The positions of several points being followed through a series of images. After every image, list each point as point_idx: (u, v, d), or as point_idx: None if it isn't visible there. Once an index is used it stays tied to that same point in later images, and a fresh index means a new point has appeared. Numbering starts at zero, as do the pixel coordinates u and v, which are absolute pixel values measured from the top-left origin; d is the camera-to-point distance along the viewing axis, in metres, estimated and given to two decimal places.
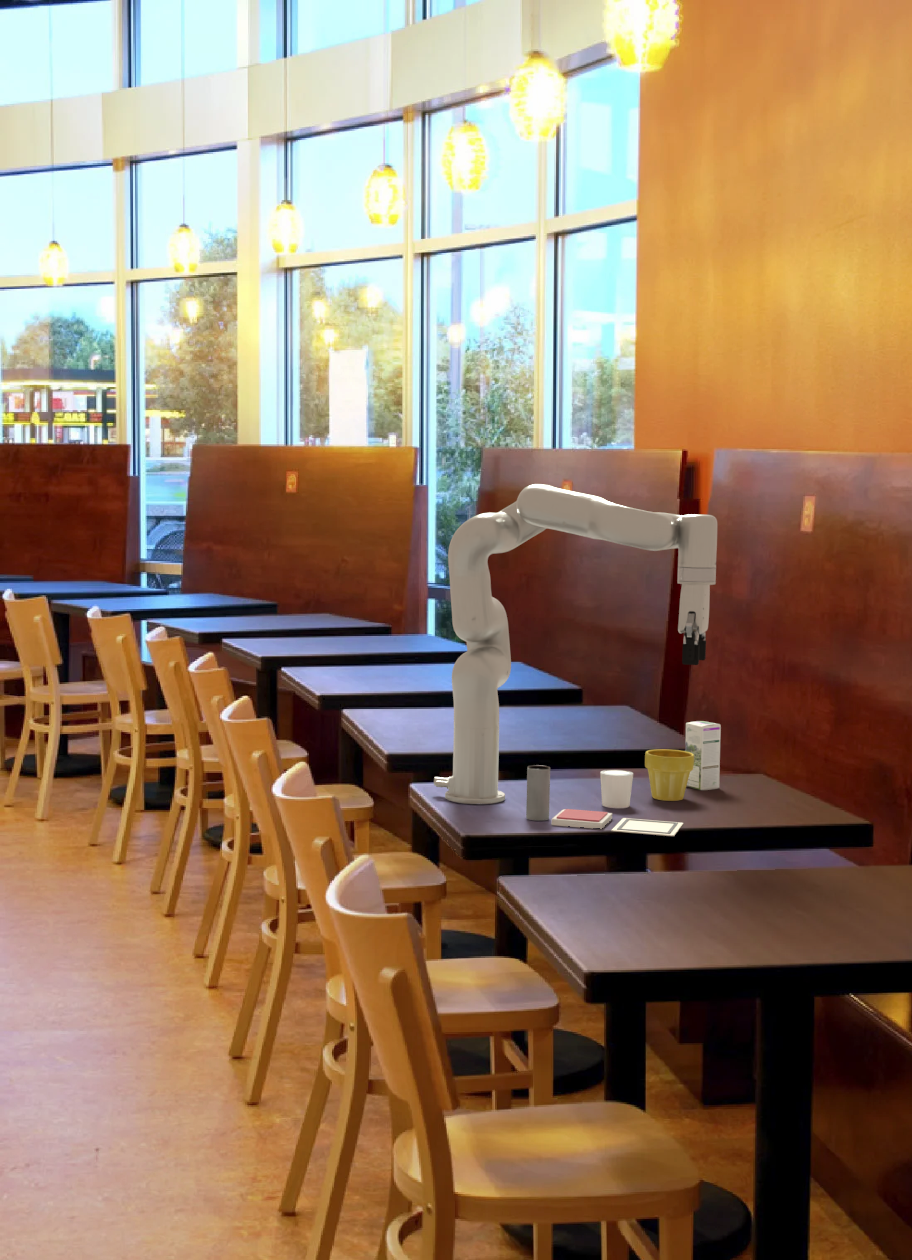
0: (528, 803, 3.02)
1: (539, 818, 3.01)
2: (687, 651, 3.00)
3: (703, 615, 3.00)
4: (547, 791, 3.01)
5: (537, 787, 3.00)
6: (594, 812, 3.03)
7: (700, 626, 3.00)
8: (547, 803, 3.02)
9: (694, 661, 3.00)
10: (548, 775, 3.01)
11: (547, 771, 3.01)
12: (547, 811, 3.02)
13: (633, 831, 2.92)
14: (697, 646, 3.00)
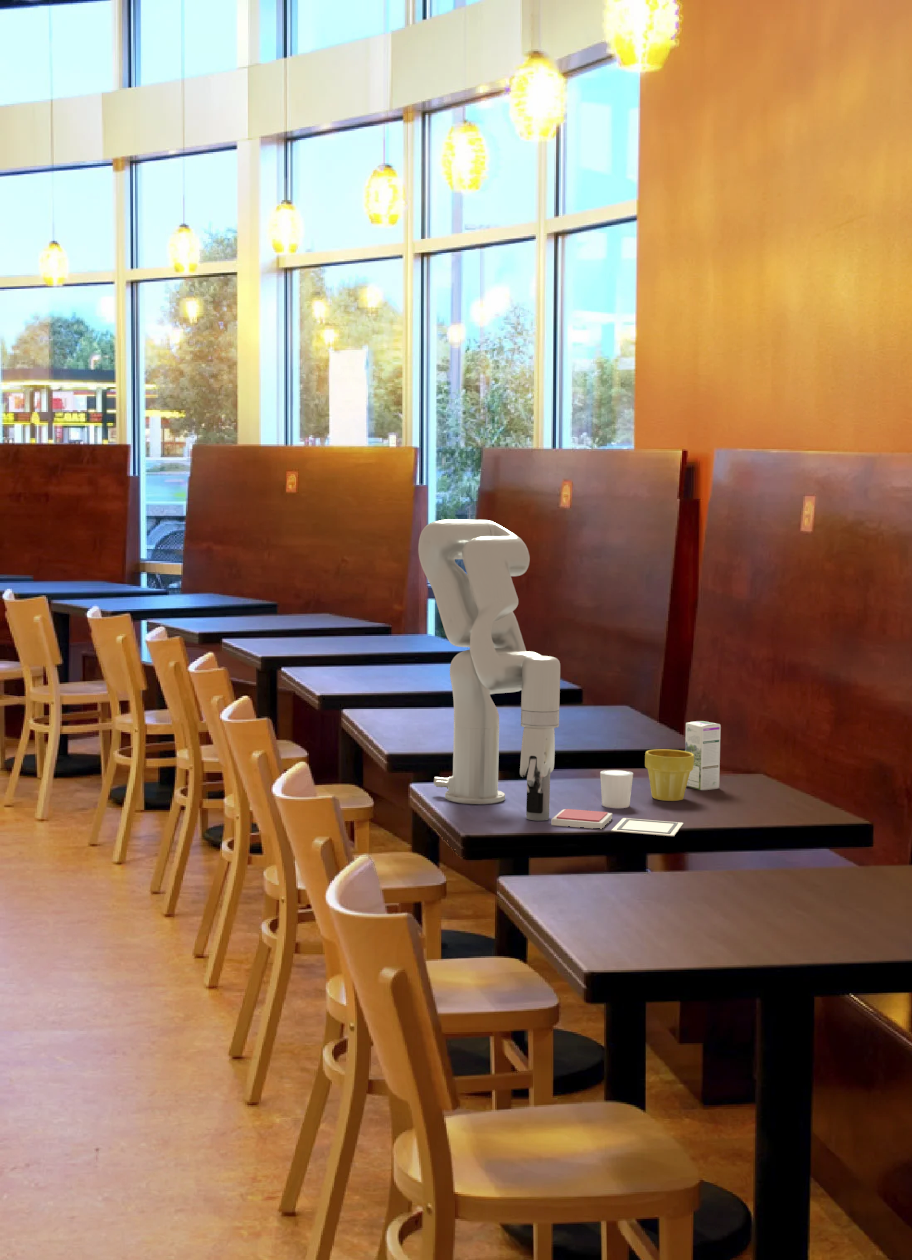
0: None
1: (539, 818, 3.01)
2: (531, 800, 2.99)
3: (544, 759, 2.98)
4: (547, 791, 3.01)
5: None
6: (594, 812, 3.03)
7: (541, 771, 2.97)
8: (547, 803, 3.02)
9: (538, 809, 3.00)
10: (548, 775, 3.01)
11: None
12: (547, 811, 3.02)
13: (633, 831, 2.92)
14: (541, 795, 3.00)
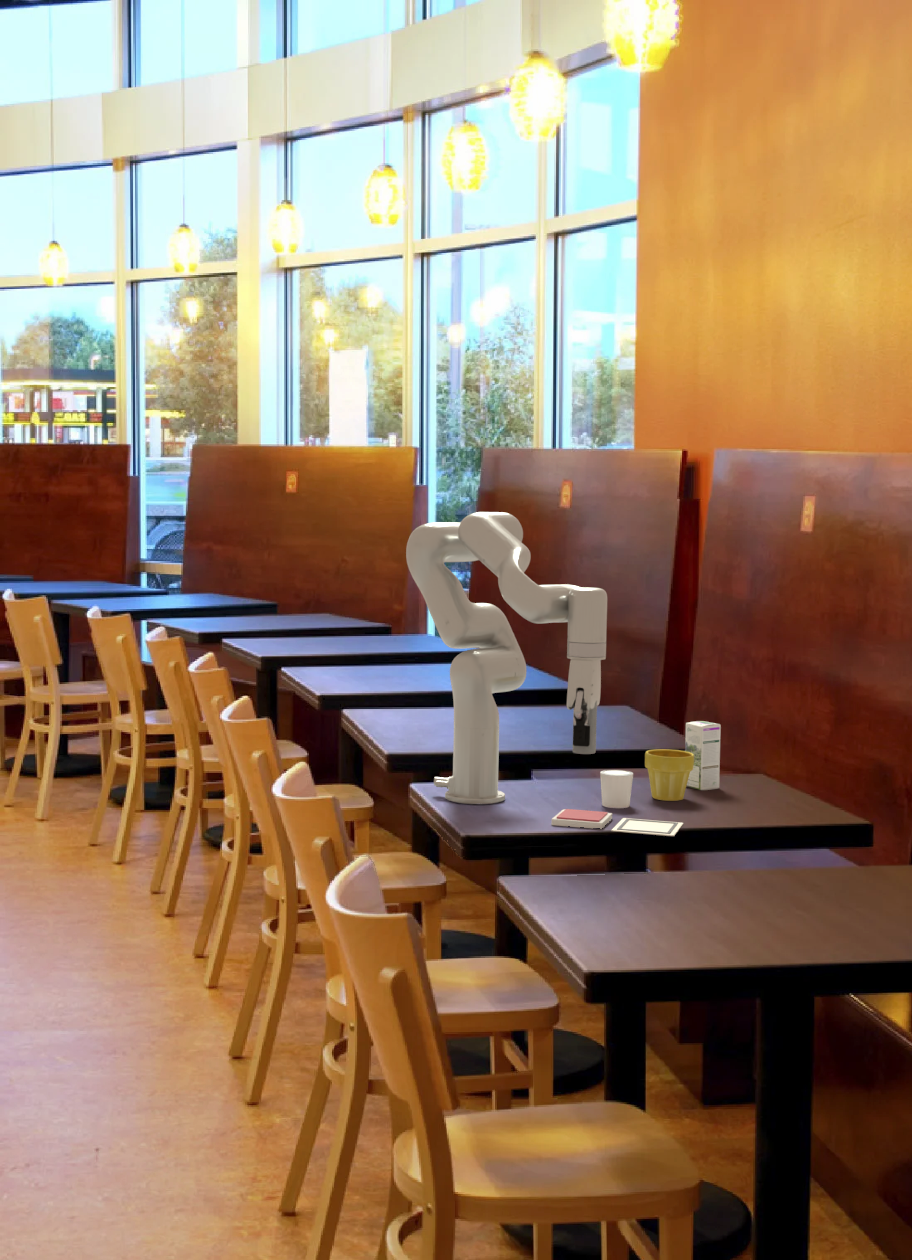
0: None
1: (586, 751, 2.97)
2: (577, 732, 2.96)
3: (592, 691, 2.94)
4: (594, 724, 2.97)
5: None
6: (594, 812, 3.03)
7: (588, 703, 2.93)
8: (594, 736, 2.98)
9: (585, 742, 2.96)
10: (595, 708, 2.97)
11: None
12: (594, 744, 2.98)
13: (633, 831, 2.92)
14: (588, 727, 2.96)
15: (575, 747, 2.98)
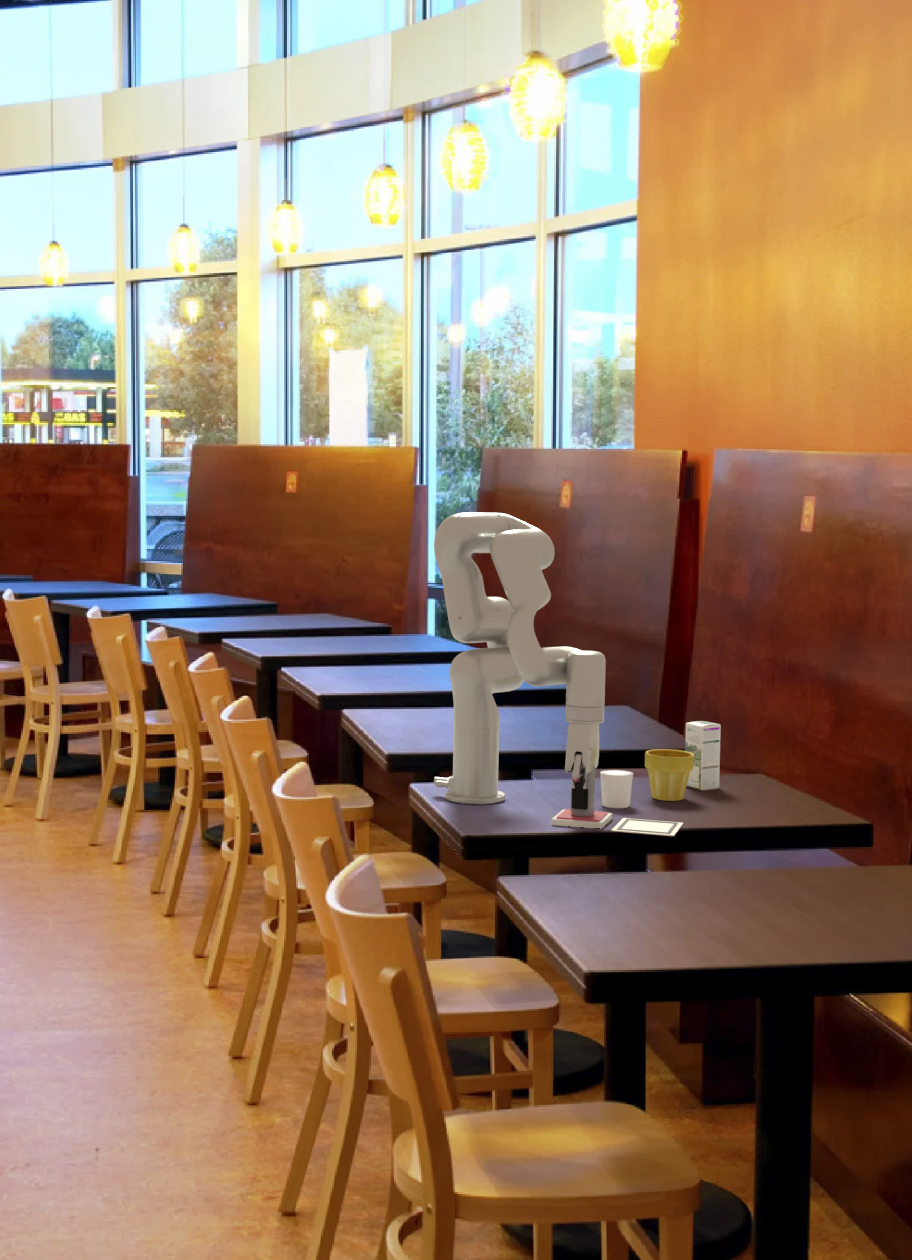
0: None
1: (584, 814, 2.98)
2: (576, 796, 2.97)
3: (590, 755, 2.95)
4: (592, 786, 2.98)
5: None
6: (594, 812, 3.03)
7: (587, 767, 2.94)
8: (592, 799, 2.99)
9: (583, 806, 2.97)
10: (593, 771, 2.98)
11: None
12: (592, 807, 2.99)
13: (633, 831, 2.92)
14: (586, 791, 2.97)
15: (573, 809, 2.99)
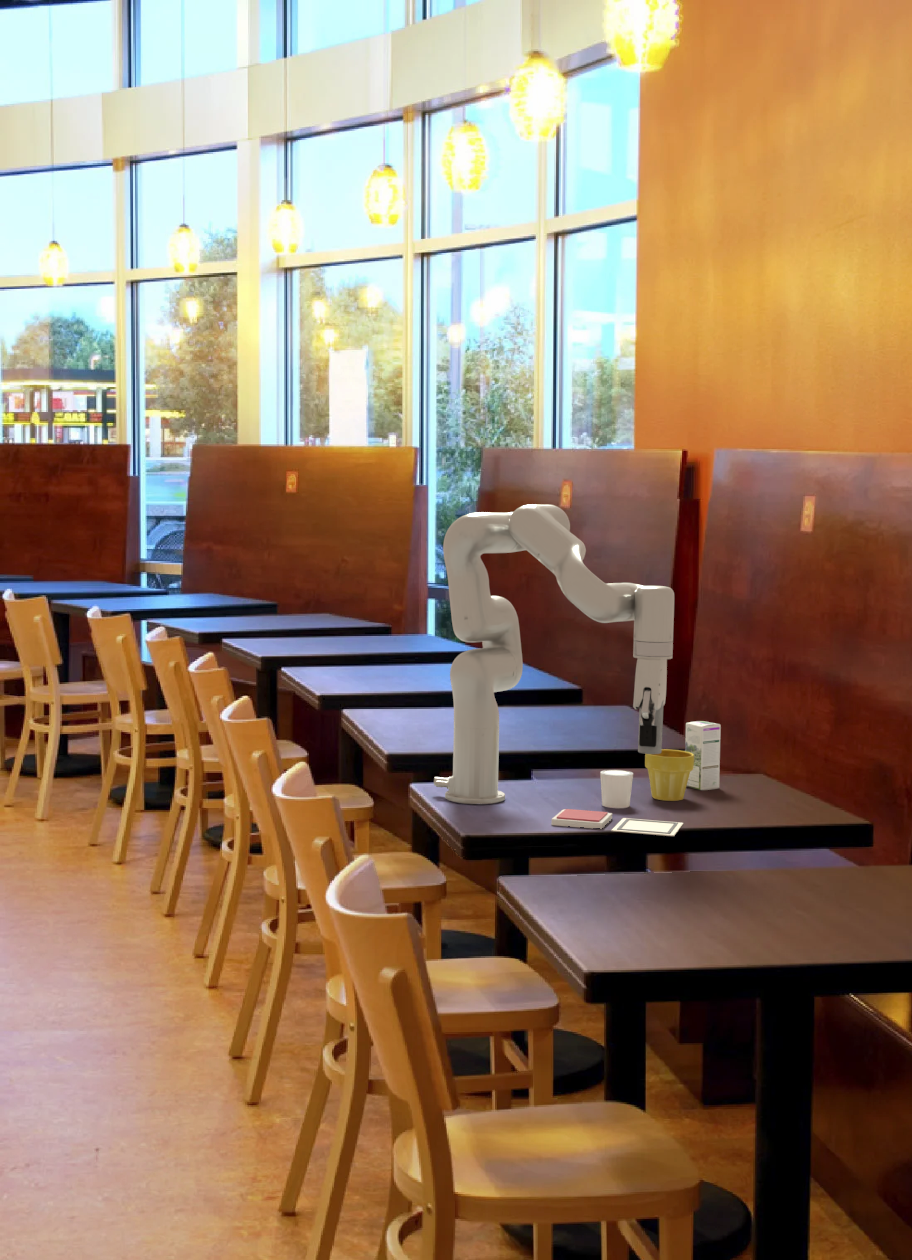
0: None
1: (652, 751, 2.93)
2: (644, 733, 2.92)
3: (659, 691, 2.90)
4: (660, 723, 2.94)
5: None
6: (594, 812, 3.03)
7: (656, 703, 2.90)
8: (660, 736, 2.94)
9: (651, 743, 2.92)
10: (661, 707, 2.94)
11: None
12: (660, 744, 2.94)
13: (633, 831, 2.92)
14: (654, 728, 2.92)
15: (641, 747, 2.94)
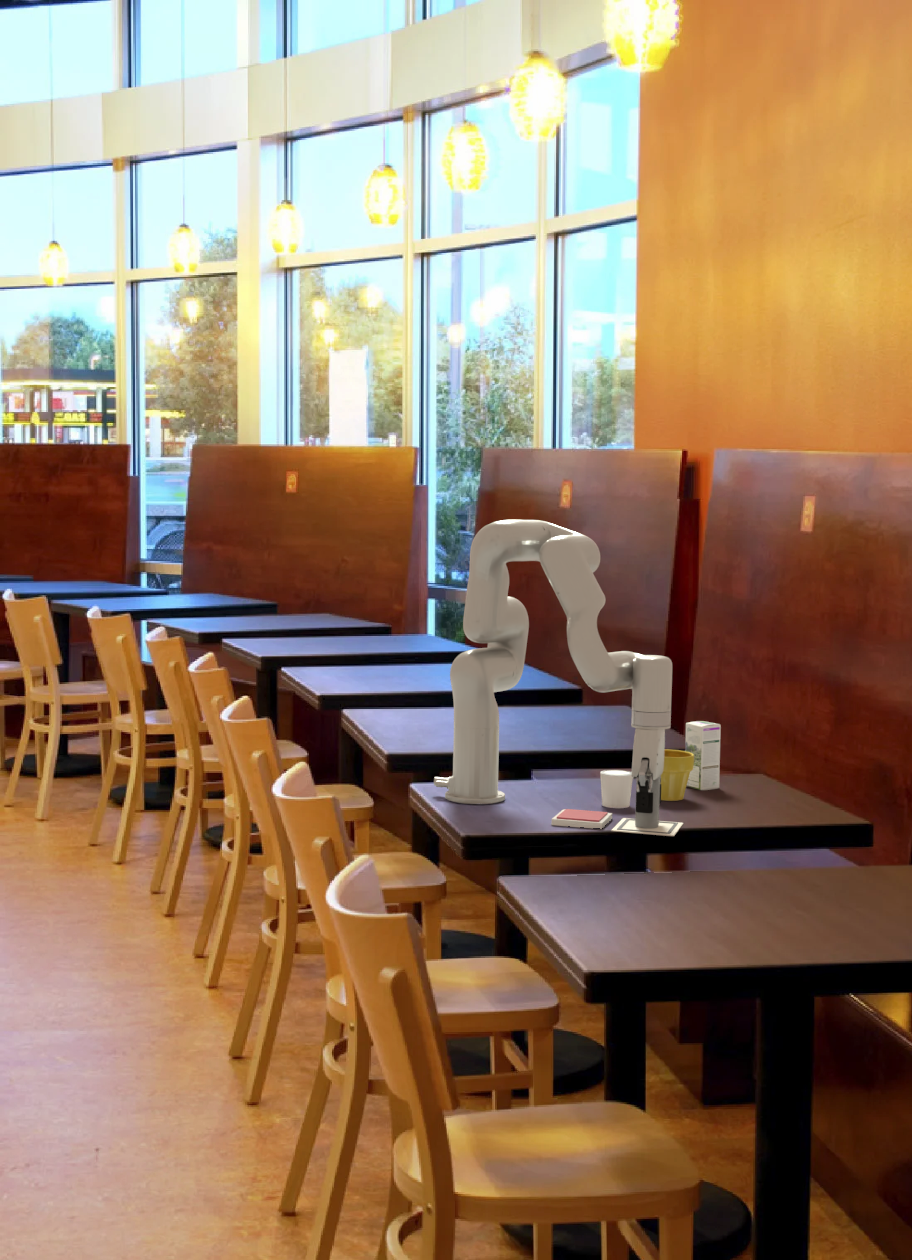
0: None
1: (649, 825, 2.95)
2: (641, 799, 2.91)
3: (657, 761, 2.91)
4: (657, 798, 2.95)
5: None
6: (594, 812, 3.03)
7: (654, 773, 2.91)
8: (657, 810, 2.95)
9: (648, 809, 2.92)
10: (658, 782, 2.95)
11: (657, 778, 2.94)
12: (657, 819, 2.96)
13: (633, 831, 2.92)
14: (651, 794, 2.91)
15: (638, 821, 2.95)
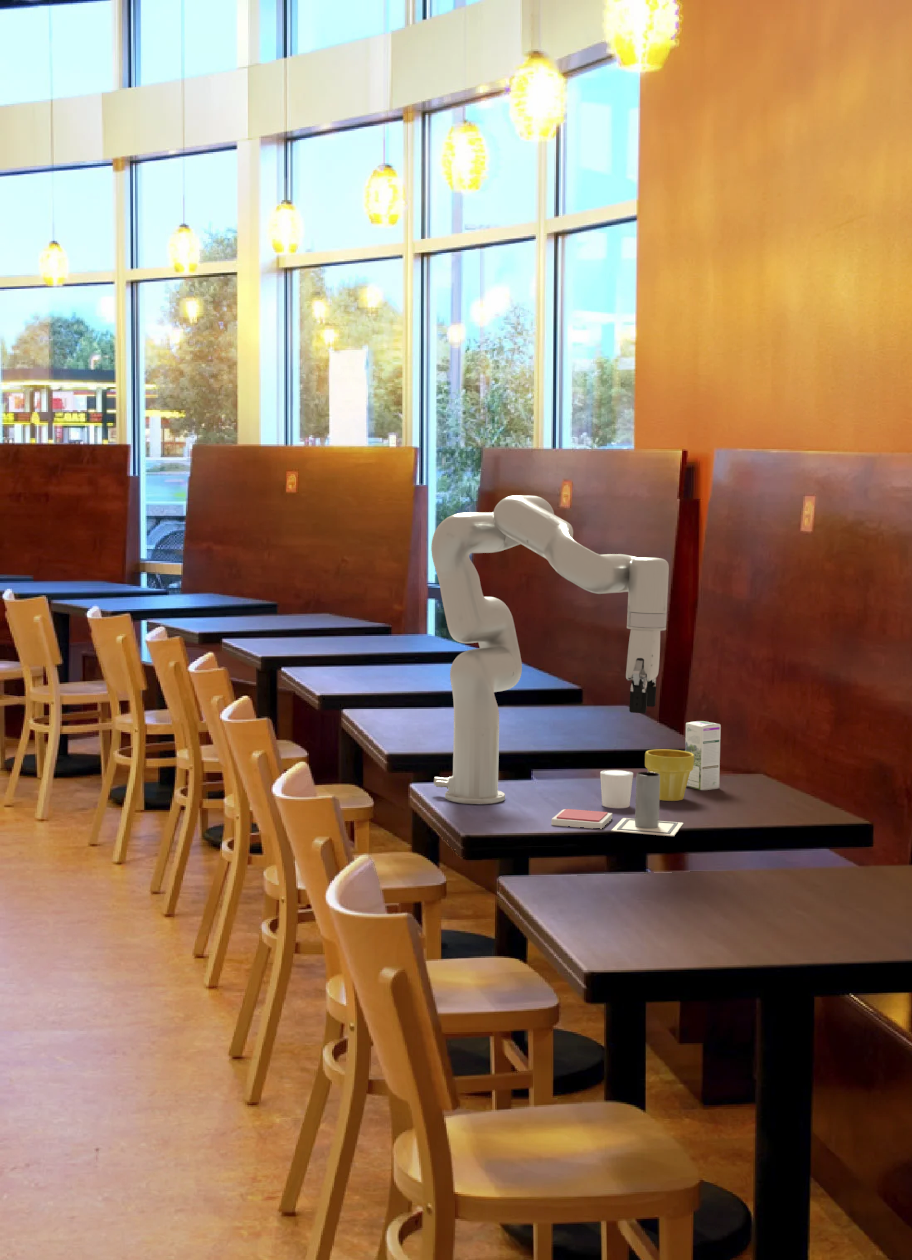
0: (637, 810, 2.96)
1: (649, 825, 2.95)
2: (634, 699, 2.91)
3: (652, 662, 2.91)
4: (657, 798, 2.95)
5: (647, 794, 2.94)
6: (594, 812, 3.03)
7: (648, 673, 2.91)
8: (657, 810, 2.95)
9: (641, 709, 2.92)
10: (658, 782, 2.95)
11: (657, 778, 2.94)
12: (657, 818, 2.96)
13: (633, 831, 2.92)
14: (645, 694, 2.91)
15: (638, 821, 2.95)
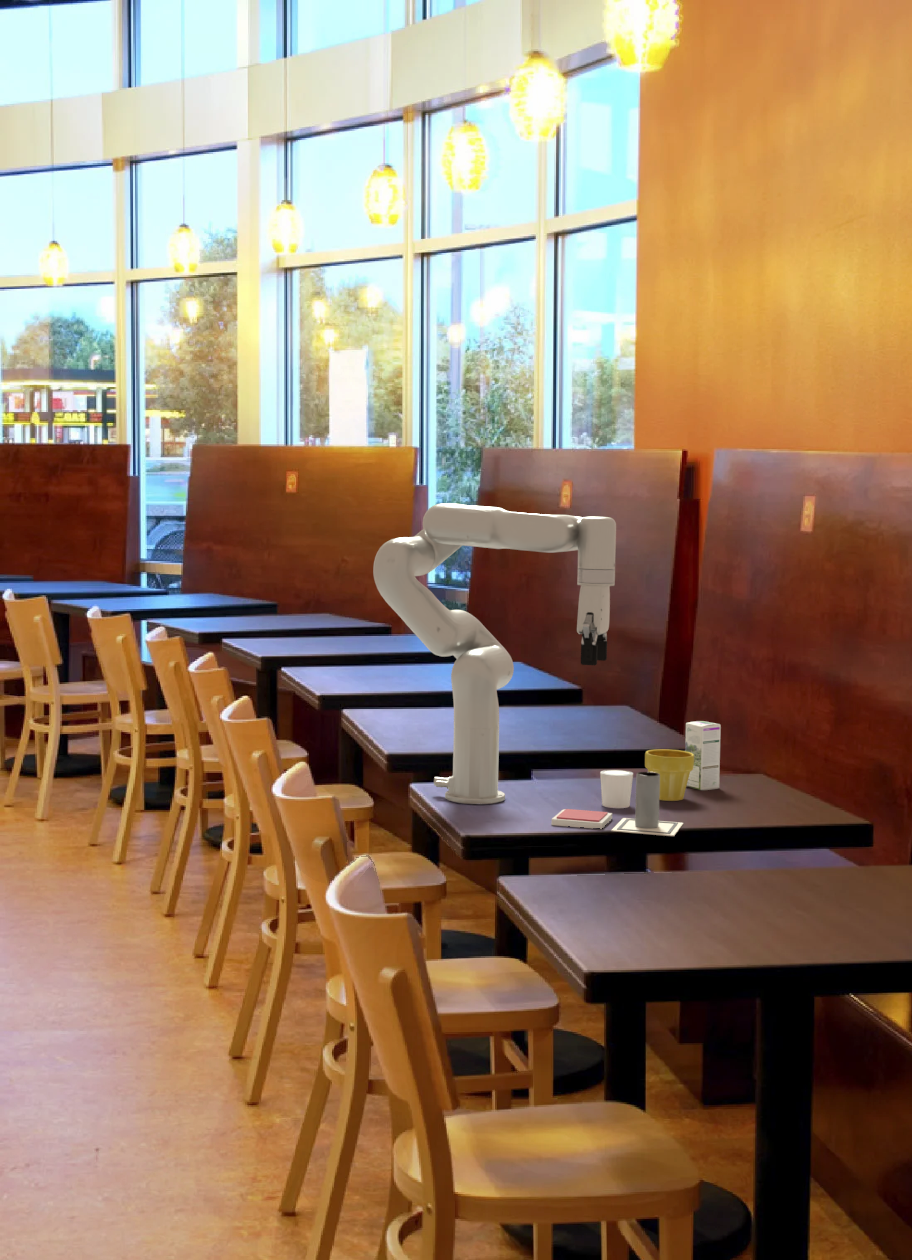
0: (637, 810, 2.96)
1: (649, 825, 2.95)
2: (585, 651, 3.04)
3: (601, 616, 3.04)
4: (657, 798, 2.95)
5: (647, 794, 2.94)
6: (594, 812, 3.03)
7: (598, 627, 3.04)
8: (657, 810, 2.95)
9: (592, 661, 3.04)
10: (658, 782, 2.95)
11: (657, 778, 2.94)
12: (657, 818, 2.96)
13: (633, 831, 2.92)
14: (595, 647, 3.04)
15: (638, 821, 2.96)
